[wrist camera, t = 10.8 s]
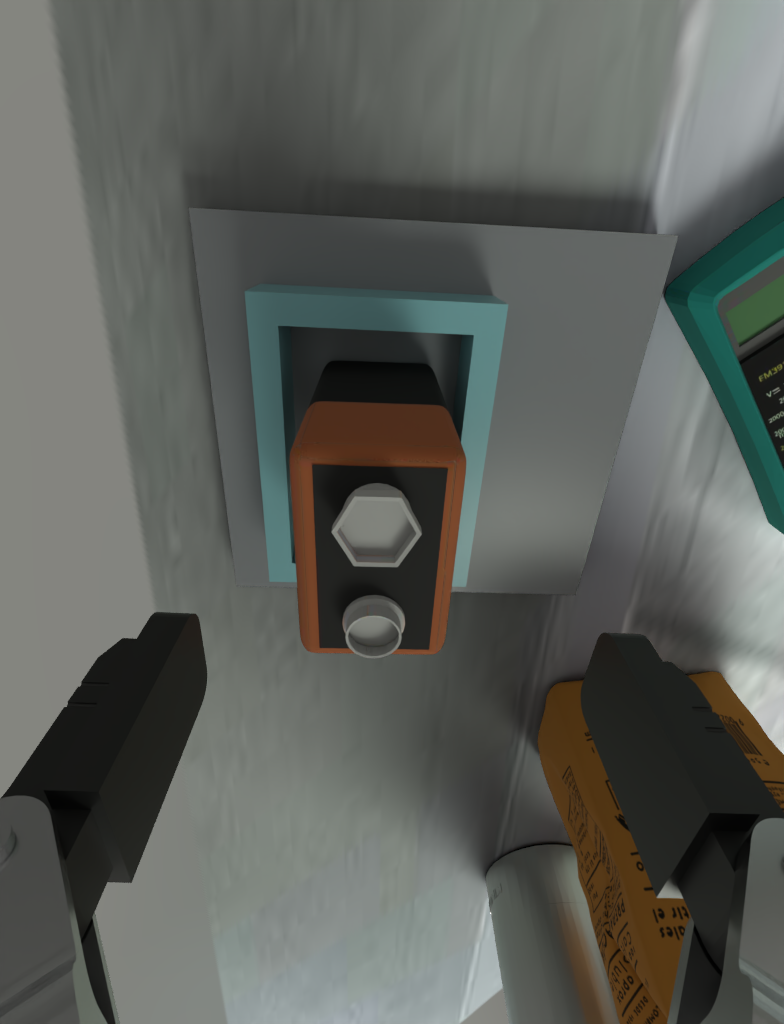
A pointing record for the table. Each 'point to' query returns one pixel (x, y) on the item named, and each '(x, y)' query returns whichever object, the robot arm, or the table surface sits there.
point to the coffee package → (631, 846)
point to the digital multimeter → (743, 342)
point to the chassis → (448, 351)
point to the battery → (376, 510)
